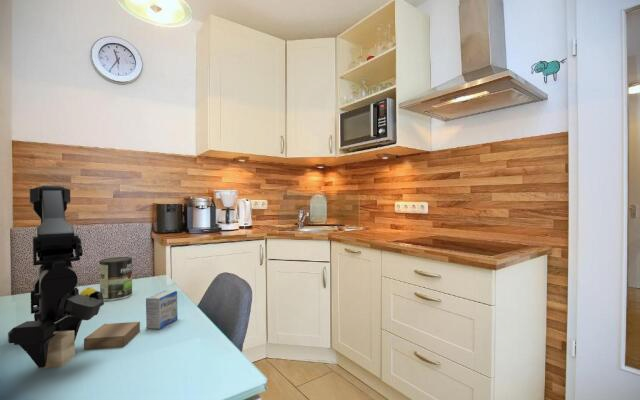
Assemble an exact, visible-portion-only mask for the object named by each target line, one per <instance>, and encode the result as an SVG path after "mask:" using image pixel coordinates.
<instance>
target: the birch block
mask: <svg viewBox="0 0 640 400" xmlns="http://www.w3.org/2000/svg"><path fill="white" fill-rule="evenodd" d="M53 334H56V335H55V336H54V337H53V338H52V339H51V340H50V341H49V343H48V353H47V361H46V366H45V367H44V368H43V369H47V368H58V367H60V368H61V367H63V366H64V365H66V364H67V363H68V362H70V361H71V360H72V359H73V358H75V357H76V356H75V355H76V353H75V350H76V349H75V348H76V347H75V342H76V339H75V338H74V330H73V331H58V332H54V333H53ZM37 367H38V366H37ZM37 369H40V368H39V367H38V368H37Z"/></svg>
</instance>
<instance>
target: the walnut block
mask: <svg viewBox="0 0 640 400" xmlns="http://www.w3.org/2000/svg"><path fill="white" fill-rule="evenodd" d="M140 332H141V321H131V322H130V321H129V322H114V323H104V324H102V325H100V327H98V328H97V329H95V330H94V331H92V332H91V333H90V334H89V335H87V336H86V337H85V338H83V349H84V350H93V349H96V350H97V349H107V348H123V347H126V346H127V345H128V344H129V343H130V342H131V341H132V339H134V338H135V337H136V336H137V335H138V334H139V333H140Z"/></svg>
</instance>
